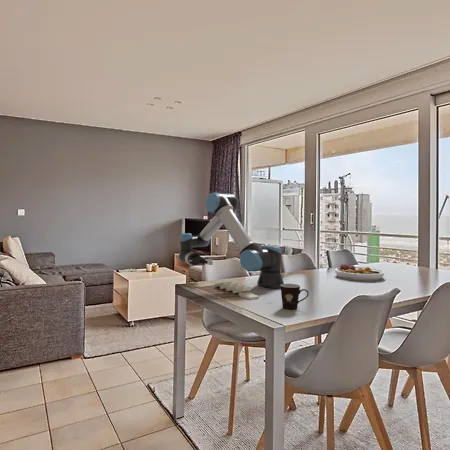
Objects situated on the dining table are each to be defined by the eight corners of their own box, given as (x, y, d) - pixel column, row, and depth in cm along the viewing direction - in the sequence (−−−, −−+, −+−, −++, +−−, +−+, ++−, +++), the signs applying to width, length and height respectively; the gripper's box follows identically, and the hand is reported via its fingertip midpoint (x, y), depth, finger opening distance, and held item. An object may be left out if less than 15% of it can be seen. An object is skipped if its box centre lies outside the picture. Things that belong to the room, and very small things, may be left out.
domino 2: (219, 286, 199) (229, 284, 191) (227, 285, 202) (237, 283, 193) (220, 289, 199) (229, 287, 190) (228, 288, 201) (237, 286, 193)
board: (194, 288, 203) (194, 287, 203) (221, 285, 212) (221, 284, 212) (223, 300, 176) (223, 298, 176) (252, 296, 185) (252, 294, 185)
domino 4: (232, 290, 188) (242, 287, 180) (240, 289, 191) (251, 286, 183) (232, 293, 188) (243, 290, 180) (241, 292, 191) (251, 289, 182)
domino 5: (238, 292, 183) (250, 297, 175) (247, 290, 186) (258, 296, 177) (238, 295, 183) (250, 300, 175) (246, 294, 186) (258, 299, 178)
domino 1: (214, 284, 204) (223, 282, 196) (221, 283, 207) (231, 281, 199) (214, 287, 204) (223, 285, 196) (222, 286, 207) (231, 284, 198)
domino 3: (225, 288, 194) (235, 286, 185) (233, 287, 196) (244, 285, 188) (226, 291, 193) (236, 289, 185) (234, 290, 196) (244, 288, 188)
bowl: (393, 279, 237) (393, 267, 237) (365, 284, 220) (365, 271, 220) (353, 272, 262) (353, 261, 262) (325, 276, 245) (325, 264, 245)
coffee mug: (276, 307, 163) (276, 285, 163) (287, 304, 170) (287, 282, 169) (299, 313, 155) (299, 289, 155) (309, 309, 162) (309, 286, 161)
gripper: (202, 264, 235) (221, 268, 215) (183, 265, 228) (201, 270, 208) (202, 252, 235) (221, 255, 215) (183, 253, 228) (201, 256, 208)
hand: (211, 262), depth 212 cm, fingers closed
